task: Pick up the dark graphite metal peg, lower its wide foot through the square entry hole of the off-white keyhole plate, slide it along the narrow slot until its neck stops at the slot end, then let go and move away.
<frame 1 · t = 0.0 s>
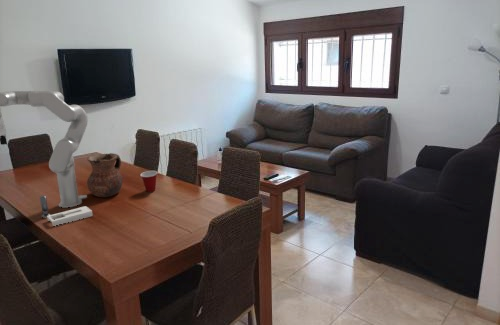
plastic cup: (150, 190, 242), on the table
keyhole plate: (70, 218, 200), on the table
peg: (46, 217, 203), on the table
jug: (106, 194, 238), on the table
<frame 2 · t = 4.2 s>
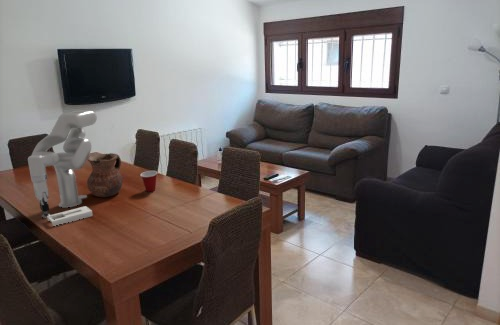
hand: (45, 209, 202), 4 cm above the table, tool pointing down, fingers closed on peg, 3 cm apart
peg: (46, 217, 203), on the table, touching gripper
everything else where it was.
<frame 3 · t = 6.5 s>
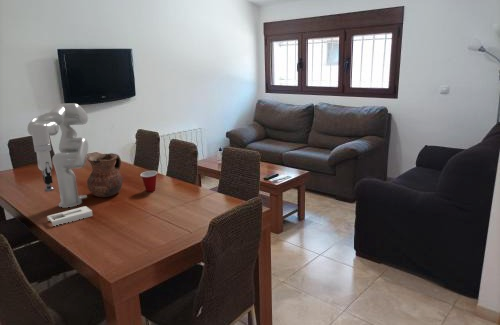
hand: (48, 182, 192), 22 cm above the table, tool pointing down, fingers closed on peg, 3 cm apart
peg: (49, 190, 193), point 17 cm above the table, touching gripper
everything else where it was.
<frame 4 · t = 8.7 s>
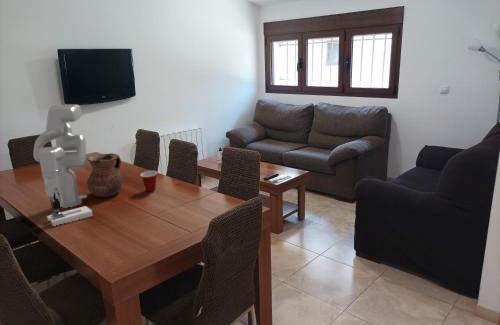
hand: (56, 207, 194), 8 cm above the table, tool pointing down, fingers closed on peg, 3 cm apart
peg: (57, 215, 195), point 4 cm above the table, touching gripper
everything else where it was.
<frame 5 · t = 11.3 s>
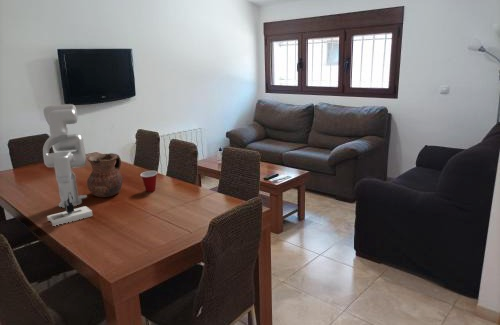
hand: (69, 210, 199), 4 cm above the table, tool pointing down, fingers closed on peg, 3 cm apart
peg: (70, 217, 200), on the table, touching gripper
everything else where it was.
when the fingers open (5 cm above the table, at t = 13.5 s): peg stays where it is, on the table.
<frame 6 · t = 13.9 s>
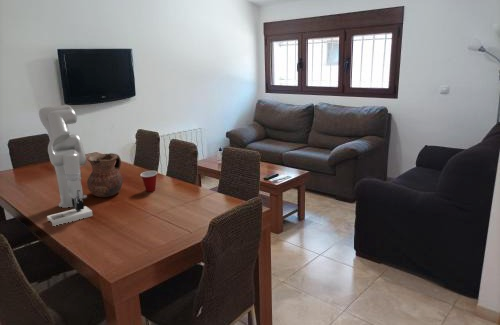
hand: (78, 207, 202), 5 cm above the table, tool pointing down, fingers open, 7 cm apart
peg: (79, 216, 203), on the table
everything else where it was.
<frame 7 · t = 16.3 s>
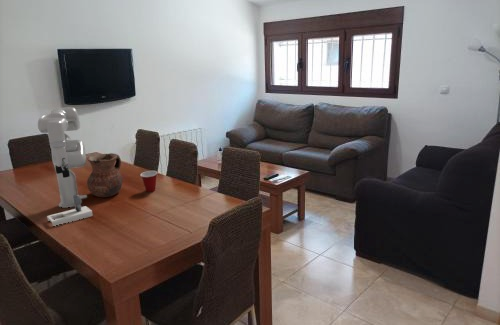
hand: (63, 175, 199), 23 cm above the table, tool pointing down, fingers open, 9 cm apart
nothing on the table moved.
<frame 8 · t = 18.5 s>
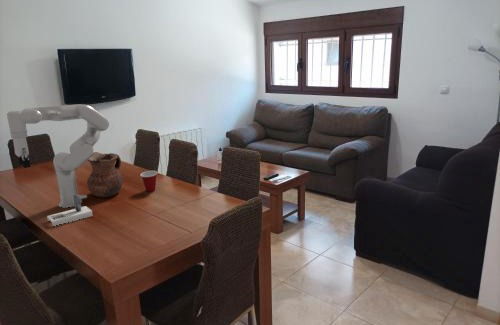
hand: (24, 165, 200), 28 cm above the table, tool pointing down, fingers open, 9 cm apart
nothing on the table moved.
at the end: peg 0.5 cm from the target spot on the keyhole plate, point 0.0 cm above the keyhole plate's base; peg tilted 0°; the gripper is holding nothing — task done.
